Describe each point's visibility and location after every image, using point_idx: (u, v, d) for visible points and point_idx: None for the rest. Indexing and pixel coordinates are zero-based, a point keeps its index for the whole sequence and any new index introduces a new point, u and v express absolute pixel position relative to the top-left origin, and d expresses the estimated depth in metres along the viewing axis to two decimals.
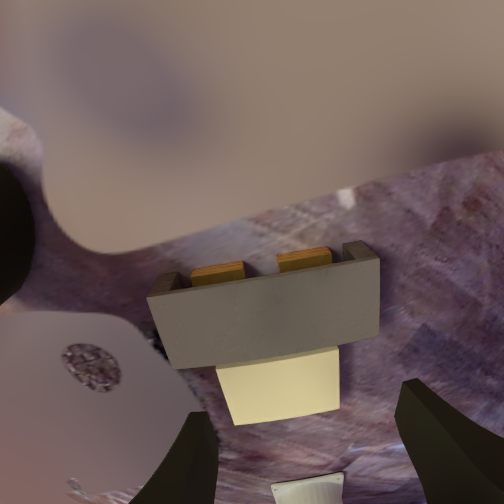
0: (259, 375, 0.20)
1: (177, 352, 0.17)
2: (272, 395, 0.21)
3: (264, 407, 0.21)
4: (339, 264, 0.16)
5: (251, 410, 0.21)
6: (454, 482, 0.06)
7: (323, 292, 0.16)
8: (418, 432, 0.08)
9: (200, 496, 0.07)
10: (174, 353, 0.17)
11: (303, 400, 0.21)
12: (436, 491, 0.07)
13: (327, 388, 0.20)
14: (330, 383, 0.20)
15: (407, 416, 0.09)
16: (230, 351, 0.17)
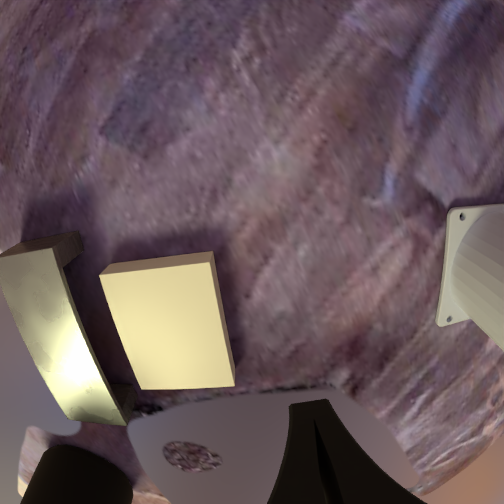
0: (142, 356, 0.17)
1: (107, 417, 0.17)
2: (174, 347, 0.17)
3: (198, 356, 0.17)
4: (5, 293, 0.14)
5: (203, 368, 0.17)
6: None
7: (24, 308, 0.14)
8: (319, 457, 0.08)
9: None
10: (108, 420, 0.17)
11: (185, 313, 0.16)
12: None
13: (162, 284, 0.15)
14: (153, 281, 0.15)
15: None
16: (93, 385, 0.16)
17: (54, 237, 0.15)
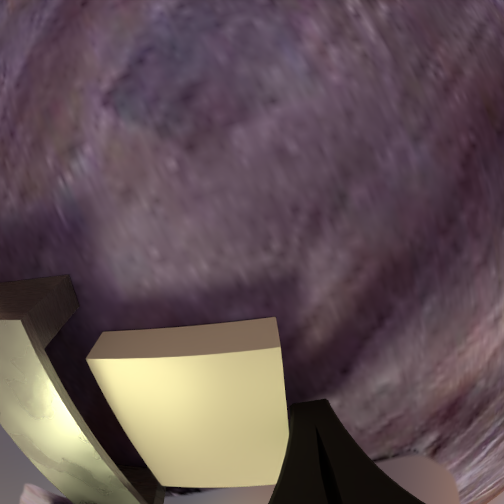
0: (163, 457, 0.10)
1: None
2: (212, 450, 0.10)
3: (247, 459, 0.10)
4: None
5: (253, 470, 0.11)
6: None
7: None
8: (318, 457, 0.08)
9: None
10: None
11: (233, 415, 0.09)
12: None
13: (195, 378, 0.09)
14: (179, 374, 0.09)
15: None
16: (112, 489, 0.09)
17: (29, 285, 0.09)
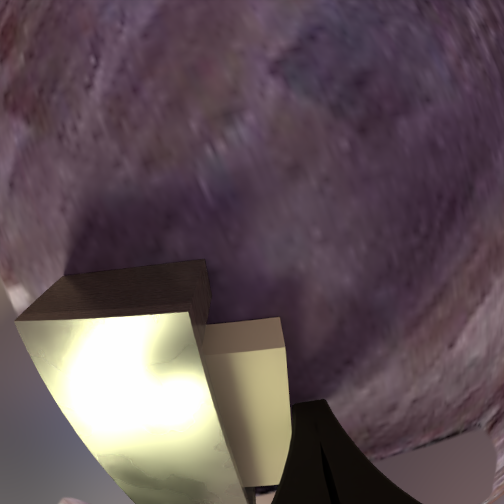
0: None
1: None
2: None
3: (249, 459, 0.10)
4: None
5: (255, 470, 0.11)
6: None
7: (94, 412, 0.07)
8: None
9: None
10: None
11: (236, 415, 0.09)
12: None
13: None
14: None
15: None
16: (221, 499, 0.09)
17: (152, 272, 0.09)
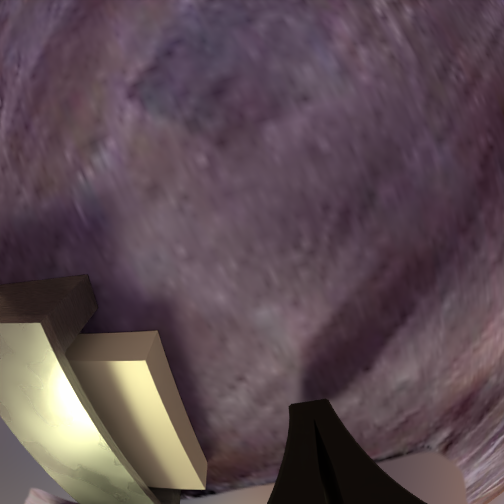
0: None
1: None
2: None
3: (151, 461, 0.10)
4: None
5: (161, 472, 0.11)
6: None
7: (8, 401, 0.07)
8: (319, 457, 0.08)
9: None
10: None
11: (123, 418, 0.09)
12: None
13: (84, 380, 0.09)
14: None
15: None
16: (129, 495, 0.09)
17: (45, 286, 0.09)
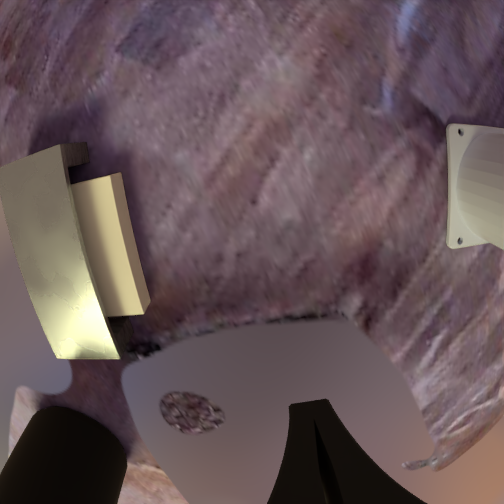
0: None
1: (98, 350, 0.17)
2: None
3: (106, 277, 0.17)
4: None
5: (112, 292, 0.17)
6: None
7: (21, 218, 0.14)
8: (319, 457, 0.08)
9: None
10: (100, 353, 0.17)
11: (92, 229, 0.16)
12: None
13: None
14: None
15: None
16: (85, 305, 0.16)
17: None
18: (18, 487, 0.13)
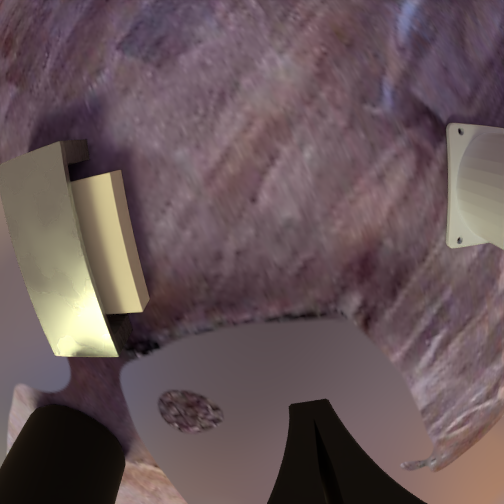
0: None
1: (97, 348, 0.17)
2: None
3: (105, 275, 0.17)
4: (3, 202, 0.14)
5: (111, 290, 0.17)
6: None
7: (21, 215, 0.14)
8: (319, 457, 0.08)
9: None
10: (98, 350, 0.17)
11: (91, 226, 0.16)
12: None
13: None
14: None
15: None
16: (84, 302, 0.16)
17: None
18: (16, 485, 0.13)
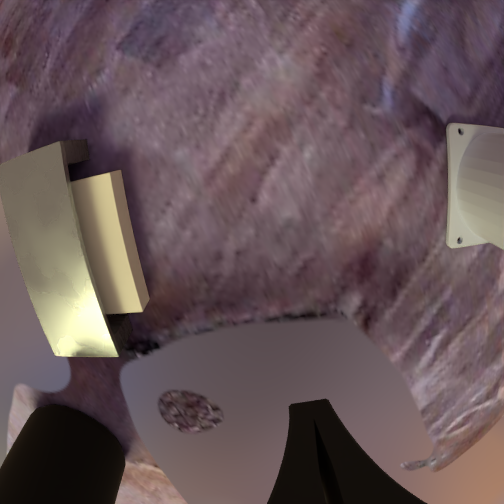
0: None
1: (97, 348, 0.17)
2: None
3: (105, 275, 0.17)
4: (3, 202, 0.14)
5: (111, 290, 0.17)
6: None
7: (21, 215, 0.14)
8: (319, 457, 0.08)
9: None
10: (98, 350, 0.17)
11: (91, 226, 0.16)
12: None
13: None
14: None
15: None
16: (84, 302, 0.16)
17: None
18: (16, 485, 0.13)
